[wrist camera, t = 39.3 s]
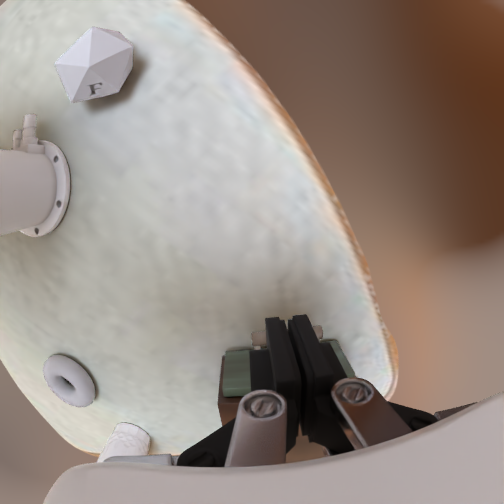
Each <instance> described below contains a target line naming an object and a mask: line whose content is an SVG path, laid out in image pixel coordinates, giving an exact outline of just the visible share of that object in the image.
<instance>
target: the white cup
mask: <svg viewBox="0 0 504 504" xmlns="http://www.w3.org/2000/svg"><path fill="white" fill-rule="evenodd" d="M149 446H150V437H149V435H148V434H147V433H146V432H145V431H144V430H142V429H141V428H139V427H137V426H135V425H132V424H129V423H119V424H117V425H116V427H115V428H114V430H113V432H112V434H111V435H110V437H109V439H108V440H107V442H106V444H105V446H104V448H103V450H102V452H101V454H100V456H99V458H98V460H97V462H96V463H98V462H103V461H104V460H105V459H107V458H109V457H113V456H142V455H148V450H149Z"/></svg>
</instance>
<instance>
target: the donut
mask: <svg viewBox="0 0 504 504" xmlns="http://www.w3.org/2000/svg"><path fill="white" fill-rule="evenodd" d="M43 373H44V378H45V380H46V382H47V384H48V386H49V387H50V389H51V390H52V391H53V392H54V393H55V394H56V395H57V396H58V397H59V398H60V399H61V400H63V401H64V402H66V403H68V404H70V405H72V406H76V407H86V406H88V405H90V404H91V403H92V402H93V400H94V398H95V386H94V384H93V382H92V379H91V378H90V376H89V375H88V374H87V372H86V371H85V370H84V369H83V368H82V367H81V366H80V365H79V364H78V363H76V362H75V361H74V360H72V359H70V358H68V357H65V356H61V355H54V356H50V357H49V358H48V359H47V360H46V361H45V362H44V367H43ZM63 377H64V378H66V379H67V380H68V381H69V382H70V383H71V384H72V385H73V386H74V387H73V386H71V385H69V384H68V383H67V382H66V381H65V380H64V378H63Z"/></svg>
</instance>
